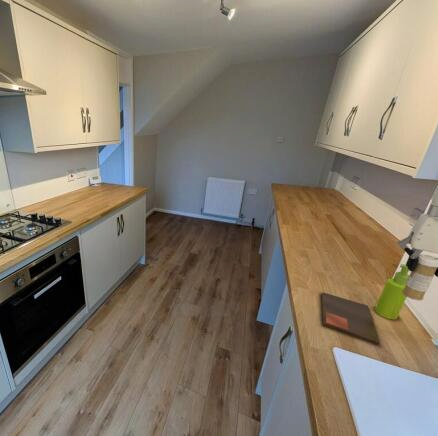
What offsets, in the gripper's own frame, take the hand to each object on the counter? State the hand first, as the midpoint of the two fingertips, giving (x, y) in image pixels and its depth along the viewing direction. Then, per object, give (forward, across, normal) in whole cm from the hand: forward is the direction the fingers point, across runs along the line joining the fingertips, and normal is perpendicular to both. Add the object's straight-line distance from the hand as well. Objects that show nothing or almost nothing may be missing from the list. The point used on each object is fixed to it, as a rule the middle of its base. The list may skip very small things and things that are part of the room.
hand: (423, 271), depth 70 cm
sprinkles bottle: (+9, 0, 0) cm, 9 cm away
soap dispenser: (+24, 0, -11) cm, 26 cm away
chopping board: (+23, +13, -1) cm, 27 cm away
